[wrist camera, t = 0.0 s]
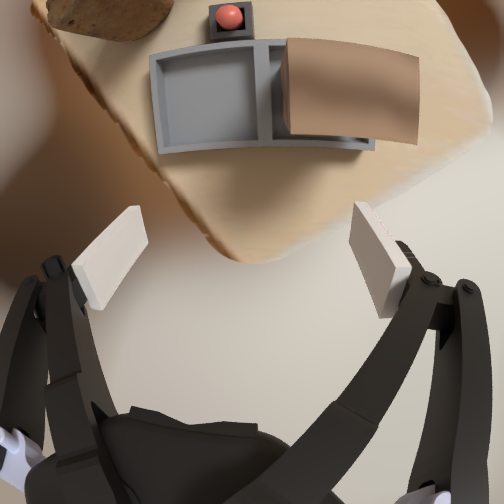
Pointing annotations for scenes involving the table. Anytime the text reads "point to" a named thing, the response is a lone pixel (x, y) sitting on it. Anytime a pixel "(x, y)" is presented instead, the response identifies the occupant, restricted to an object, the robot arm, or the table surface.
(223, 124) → the gray divided tray
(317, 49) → the seated billet
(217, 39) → the button housing
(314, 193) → the table surface
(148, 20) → the block
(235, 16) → the button
